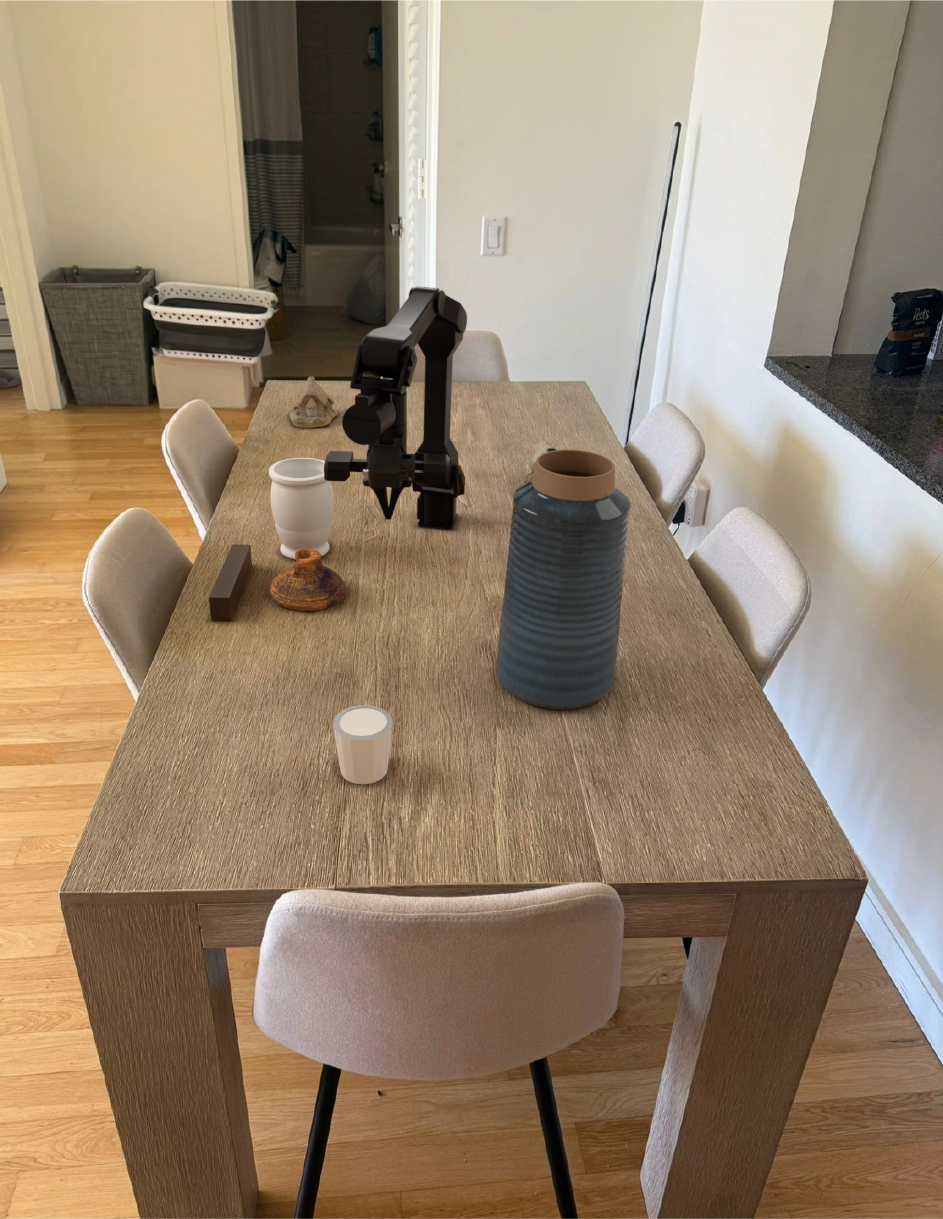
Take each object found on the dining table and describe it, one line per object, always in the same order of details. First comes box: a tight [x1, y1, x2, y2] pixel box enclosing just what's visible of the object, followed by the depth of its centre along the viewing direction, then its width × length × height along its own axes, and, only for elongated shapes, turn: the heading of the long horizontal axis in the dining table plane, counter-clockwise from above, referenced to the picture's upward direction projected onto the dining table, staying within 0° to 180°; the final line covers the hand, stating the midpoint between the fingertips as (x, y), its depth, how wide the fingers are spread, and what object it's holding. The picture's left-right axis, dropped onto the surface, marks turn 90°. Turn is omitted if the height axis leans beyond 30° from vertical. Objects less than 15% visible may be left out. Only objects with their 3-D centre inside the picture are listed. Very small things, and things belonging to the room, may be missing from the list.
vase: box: [495, 449, 631, 710], centre depth 123 cm, size 16×16×32 cm
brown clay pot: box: [269, 548, 347, 612], centre depth 147 cm, size 12×12×7 cm
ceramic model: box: [289, 375, 338, 428], centre depth 221 cm, size 14×11×10 cm
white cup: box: [332, 704, 394, 785], centre depth 111 cm, size 7×7×7 cm
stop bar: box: [208, 544, 253, 622], centre depth 148 cm, size 3×18×4 cm, turn 2°
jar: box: [268, 457, 335, 561], centre depth 159 cm, size 11×10×15 cm
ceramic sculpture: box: [524, 441, 559, 483], centre depth 189 cm, size 11×9×15 cm
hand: (388, 518), depth 147 cm, fingers closed
